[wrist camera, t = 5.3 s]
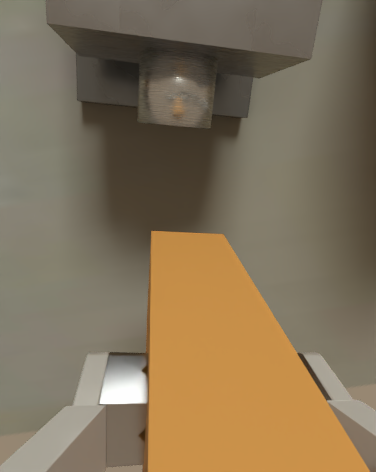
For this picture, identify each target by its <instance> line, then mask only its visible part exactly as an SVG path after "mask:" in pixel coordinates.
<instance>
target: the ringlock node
mask: <svg viewBox="0 0 376 472" xmlns="http://www.w3.org/2000/svg"><path fill="white" fill-rule="evenodd" d="M321 5H322V0H46V16H47V24H48V25H49V26H50V27H51V28H52V29H53V30H54V31H55V32H56V33H57V34H58V35H59V36H60V37H61V38H62V39H63V40H64V41H65V42H66V43H67V44H68V45H69V46H70V47H71V48H72V49H73V50H74V51H75V52H76V66H77V100H78V101H81V102H90V103H100V104H110V105H119V106H129V107H138V121H137V122H141V123H151V124H162V125H172V126H183V127H193V128H204V129H210V128H211V119H212V115H218V116H228V117H237V118H247V117H248V110H249V103H250V96H251V89H252V82H253V77H254V78H262V77H264V76H267V75H270V74H272V73H275V72H278V71H280V70H283V69H286V68H288V67H291V66H294V65H296V64H299V63H302V62H304V61H307V60H310V59H311V57H312V52H313V47H314V41H315V36H316V31H317V26H318V21H319V15H320V10H321Z"/></svg>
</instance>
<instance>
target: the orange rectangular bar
mask: <svg viewBox="0 0 376 472" xmlns="http://www.w3.org/2000/svg"><path fill="white" fill-rule="evenodd" d="M146 353H148V372H147V378H148V385H147V414H146V428H145V450H144V464H143V472H370V470H369V469H368V467H367V466H366V464H365V462H364V461H363V459H362V458H361V456H360V454H359V453H358V451H357V449H356V448H355V446H354V445H353V443H352V441H351V440H350V438H349V437H348V435H347V433H346V432H345V430H344V428H343V427H342V425H341V424H340V422H339V420H338V419H337V417H336V416H335V414H334V412H333V411H332V409H331V407H330V406H329V404H328V403H327V401H326V399H325V398H324V396H323V395H322V393H321V391H320V390H319V388H318V386H317V385H316V383H315V382H314V380H313V378H312V377H311V375H310V374H309V372H308V370H307V369H306V367H305V365H304V364H303V362H302V361H301V359H300V357H299V356H298V354H297V353H296V351H295V349H294V348H293V346H292V344H291V343H290V341H289V340H288V338H287V336H286V335H285V333H284V332H283V330H282V328H281V327H280V325H279V323H278V322H277V320H276V319H275V317H274V315H273V314H272V312H271V311H270V309H269V307H268V306H267V304H266V302H265V301H264V299H263V298H262V296H261V294H260V293H259V291H258V290H257V288H256V286H255V285H254V283H253V281H252V280H251V278H250V277H249V275H248V273H247V272H246V270H245V269H244V267H243V265H242V264H241V262H240V260H239V259H238V257H237V256H236V254H235V252H234V251H233V249H232V248H231V246H230V244H229V243H228V241H227V239H226V238H225V236H224V235H223V234H207V233H186V232H164V231H151V249H150V269H149V289H148V309H147V339H146Z"/></svg>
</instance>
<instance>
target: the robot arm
mask: <svg viewBox="0 0 376 472" xmlns="http://www.w3.org/2000/svg"><path fill="white" fill-rule="evenodd" d="M297 354H298V356H299V357H300V359H301V361H302V362H303V364H304V365H305V367H306V369H307V370H308V372H309V374H310V375H311V377H312V378H313V380H314V382H315V383H316V385H317V386H318V388H319V390H320V391H321V393H322V395H323V396H324V398H325V399H326V401H327V403H328V404H329V406H330V407H331V409H332V411H333V412H334V414H335V416H336V417H337V419H338V420H339V422H340V424H341V425H342V427H343V428H344V430H345V432H346V433H347V435H348V437H349V438H350V440H351V441H352V443H353V445H354V446H355V448H356V449H357V451H358V453H359V454H360V456H361V458H362V459H363V461H364V462H365V464H366V466H367V467H368V469H369V470H370V472H376V410H374V409H372V408H371V407H369V406H368V405H366V404H365V403H363V402H362V401H360V400H353V398H352V397H351V396H350V395H349V393H348V392H347V390H346V389H345V387H344V386H343V385H342V383H341V382H340V381H339V379H338V378H337V376H336V375H335V374H334V372H333V371H332V369H331V368H330V367H329V365H328V364H327V363H326V361H325V360H324V358H323V357H322V356H321V355H320V354H319V353H317V352H299V353H297ZM147 372H148V353H125V352H110V353H108V352H89V353H88V354H87V356H86V359H85V363H84V366H83V370H82V373H81V377H80V380H79V384H78V387H77V391H76V394H75V398H74V401H73V405H72V406H65V407H64V408H63V409H62V410H61V411H59V412H58V413H57V414H56V415H55V416H54V417H53V418H52V419H51V420H50V421H49V422H47V423H46V424H45V425H44V426H43V427H42V428H41V429H40V430H39V431H38V432H37V433H35V435H33V436H32V437H31V438H30V439H29V440H28V441H27V442H26V443H25V444H23V445H22V446H21V447H20V448H19V449H18V450H17V451H16V452H15V453H14V454H12V455H11V456H10V457H9V458H8V459H7V460H6V461H5V462H4V463H3V464H2V465H0V472H105V470H106V467H116V466H129V465H143V464H144V450H145V428H146V414H147V385H148V378H147Z"/></svg>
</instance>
